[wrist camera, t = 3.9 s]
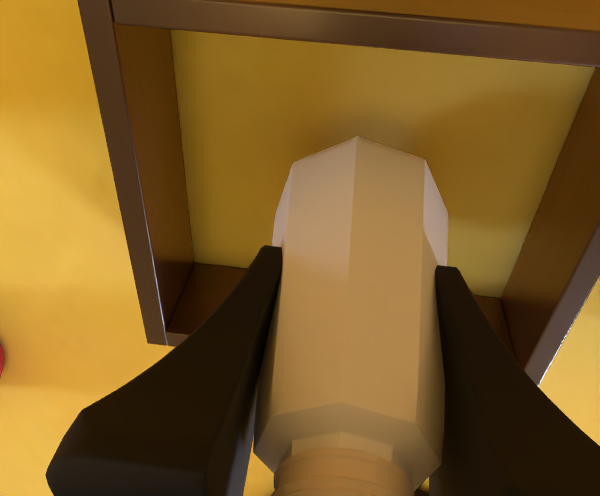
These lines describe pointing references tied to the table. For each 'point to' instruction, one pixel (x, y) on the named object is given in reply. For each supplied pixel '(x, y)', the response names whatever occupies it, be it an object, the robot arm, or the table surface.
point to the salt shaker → (355, 327)
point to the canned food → (1, 360)
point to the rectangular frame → (358, 32)
